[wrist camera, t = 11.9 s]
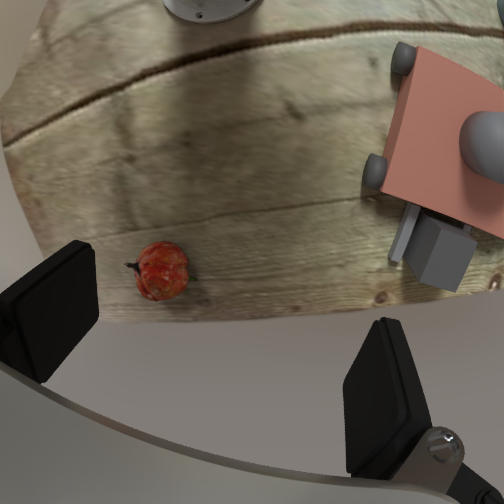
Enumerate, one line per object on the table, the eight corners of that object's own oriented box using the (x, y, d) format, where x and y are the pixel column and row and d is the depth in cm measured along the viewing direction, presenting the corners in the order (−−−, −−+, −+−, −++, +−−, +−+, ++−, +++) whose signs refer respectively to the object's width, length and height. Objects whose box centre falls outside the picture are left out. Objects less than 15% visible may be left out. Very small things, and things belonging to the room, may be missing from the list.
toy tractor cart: (394, 45, 27) (420, 24, 19) (534, 119, 26) (577, 125, 18) (341, 241, 37) (349, 276, 29) (479, 283, 36) (508, 319, 27)
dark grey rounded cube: (419, 209, 34) (441, 228, 27) (452, 221, 33) (478, 242, 27) (402, 255, 36) (418, 282, 30) (435, 265, 36) (455, 292, 30)
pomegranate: (209, 244, 42) (144, 217, 36) (219, 292, 38) (145, 270, 31) (177, 272, 46) (115, 252, 39) (183, 318, 42) (114, 302, 35)
